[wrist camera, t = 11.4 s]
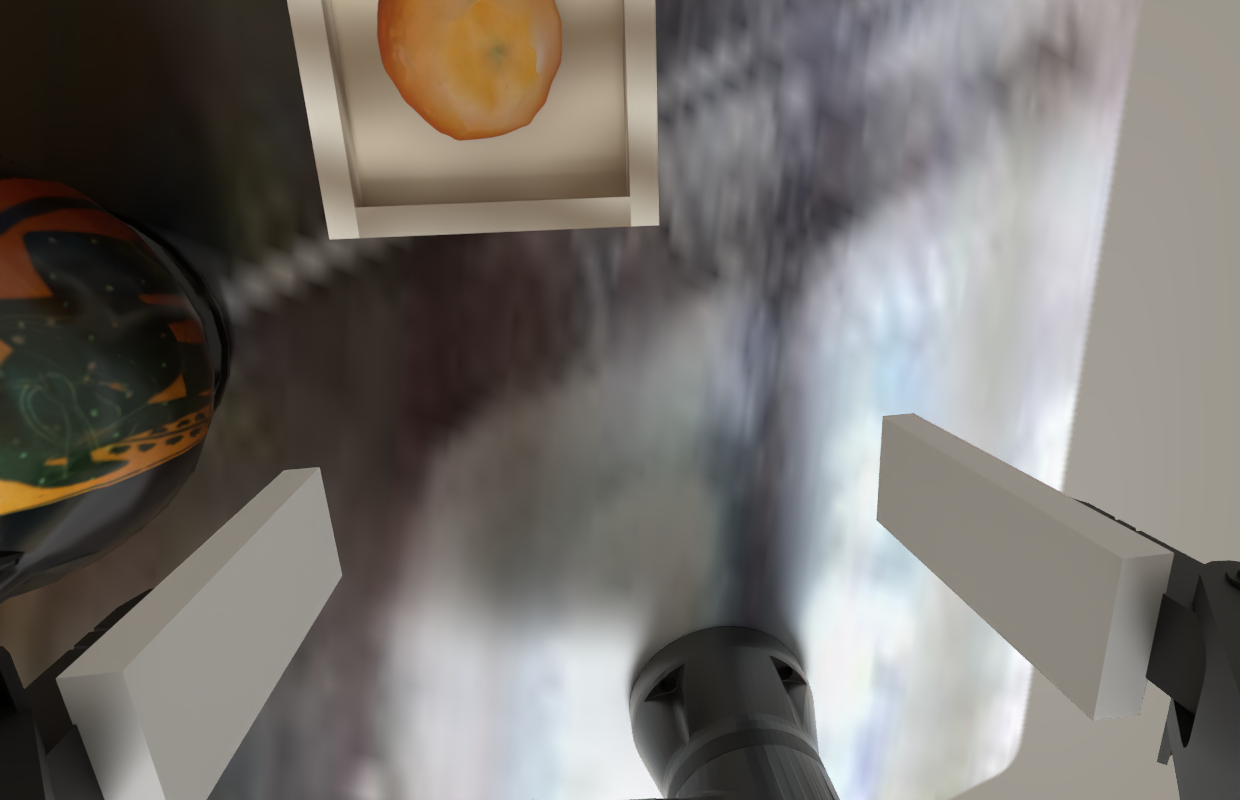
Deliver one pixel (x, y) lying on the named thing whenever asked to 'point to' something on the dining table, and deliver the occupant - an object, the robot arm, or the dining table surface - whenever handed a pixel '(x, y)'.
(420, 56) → the fruit
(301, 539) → the robot arm
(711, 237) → the dining table surface
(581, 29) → the square tray
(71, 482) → the amphora vase
